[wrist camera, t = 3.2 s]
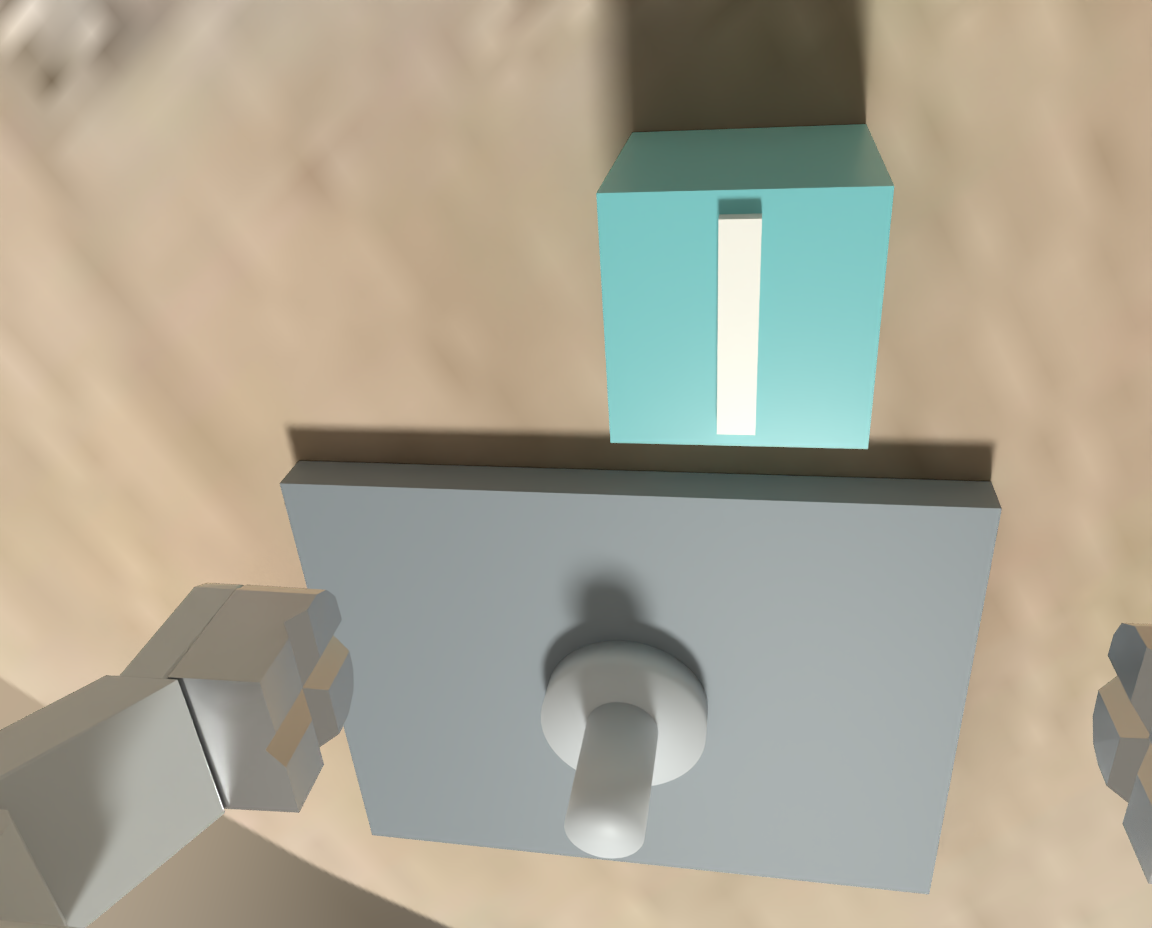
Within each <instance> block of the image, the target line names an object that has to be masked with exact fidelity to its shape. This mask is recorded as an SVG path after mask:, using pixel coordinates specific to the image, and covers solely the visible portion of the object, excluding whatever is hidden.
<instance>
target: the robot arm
mask: <svg viewBox="0 0 1152 928" xmlns="http://www.w3.org/2000/svg"><path fill="white" fill-rule="evenodd" d="M341 621H342V618H341V614H340V611H339V607H338V604H337V600H336V597H335V595H333V594H332V593H330V592H329V591H327V590H322V589H307V588H291V587H276V586H260V585H245V586H244V585H238V584H219V583H205V584H202V585H199V586H196V587H194V588H193V589H192V590H191V592H190V593H189V594H188V595H187V596H186V598H185V599H184V600H183V601H182V602H181V603H180V605H179V606H178V607H177V608H176V609H175V611H174V612H173V613H172V614H171V615H170V616H169V618H168V619H167V620H166V621H165V622H164V624H163V625H162V626H161V627H160V628H159V630H158V631H157V632H156V633H155V634H154V635H153V637H152V638H151V639H150V640H149V641H148V643H147V644H146V645H145V646H144V647H143V648H142V650H141V651H140V652H139V653H138V654H137V656H136V657H135V658H134V659H133V660H132V661H131V663H130V664H129V665H128V666H127V667H126V669H125V670H124V671H123V672H122V673H121V674H120V676H109V675H106V676H104V677H102V678H100V679H98V680H96V681H94V682H92V683H90V684H89V685H87V686H85V687H83V688H81V689H79V690H77V691H75V692H73V693H71V694H69V695H67V696H65V697H63V698H61V699H59V700H57V701H56V702H54V703H52V704H50V705H48V706H46V707H44V708H42V709H40V710H38V711H36V712H34V713H32V714H30V715H28V716H26V717H25V718H23V719H21V720H19V721H17V722H15V723H13V724H11V725H9V726H7V727H5V728H3V729H1V730H0V928H86V927H87V926H88V925H90V924H91V923H92V922H93V921H94V920H96V919H97V918H98V917H99V916H100V915H102V914H103V913H104V912H105V911H107V910H108V909H109V908H110V907H111V906H113V905H114V904H115V903H116V902H117V901H118V900H120V899H121V898H122V897H123V896H125V895H126V894H127V893H128V892H129V891H131V890H132V889H133V888H134V887H135V886H137V885H138V884H139V883H140V882H142V881H143V880H144V879H145V878H146V877H148V876H149V875H150V874H151V873H152V872H154V871H155V870H156V869H157V868H158V867H160V866H161V865H162V864H163V863H165V862H166V861H167V860H168V859H170V858H171V857H172V856H173V855H174V854H175V853H177V852H178V851H179V850H180V849H182V848H183V847H184V846H185V845H186V844H187V843H189V842H190V841H191V840H192V839H194V838H195V837H196V836H197V835H198V834H200V833H201V832H202V831H203V830H205V829H206V828H207V827H208V826H209V825H211V824H212V823H213V822H214V821H215V820H217V819H218V818H219V817H220V816H222V815H223V814H224V813H225V811H224V809H242V810H261V811H280V812H298V813H299V812H300V810H301V808H302V806H303V804H304V802H305V800H306V798H307V796H308V794H309V792H310V791H311V789H312V787H313V785H314V783H315V781H316V779H317V777H318V775H319V773H320V771H321V769H322V767H323V765H324V763H323V760H322V756H321V752H320V748H319V747H321V746H322V745H324V744H325V743H326V742H328V741H329V740H331V739H332V738H334V737H335V736H337V735H338V734H339V733H340V731H341V729H342V727H343V725H344V723H345V721H346V718H347V716H348V714H349V710H350V705H351V700H352V695H353V690H354V675H353V665H352V660H351V656H350V651H349V650H348V649H347V648H346V647H345V646H344V645H343V644H342V643H341V642H340V641H339V640H338V639H337V638H336V637H335V636H334V633H335V631H336V629H337V628H338V626H339V624H340V622H341ZM1108 657H1109V659H1110V661H1111V663H1112V665H1113V667H1114V669H1115V671H1116V673H1117V676H1116V677H1115V678H1114V679H1112V680H1111V681H1110V682H1108V683H1107V684H1106V685H1105V686H1103V687H1102V688H1101V689H1099V690H1098V695H1097V699H1096V704H1095V709H1094V713H1093V744H1094V749H1095V753H1096V757H1097V762H1098V765H1099V768H1100V770H1101V773H1102V775H1103V778H1104V780H1105V783H1106V785H1107V786H1108V787H1109V788H1110V789H1111V790H1113V791H1114V792H1115V793H1117V794H1118V795H1119V796H1120V797H1122V798H1123V799H1124V800H1125V801H1127V802H1128V807H1127V810H1126V814H1125V817H1124V820H1123V826H1124V828H1125V830H1126V833H1127V835H1128V837H1129V840H1130V842H1131V844H1132V846H1133V849H1134V851H1135V853H1136V856H1137V858H1138V860H1139V863H1140V865H1141V867H1142V870H1143V872H1144V874H1145V877H1146V879H1147V881H1148V883H1149V884H1152V624H1134V623H1121V625H1120V626H1119V628H1118V629H1117V631H1116V632H1115V634H1114V635H1113V639H1112V642H1111V646H1110V649H1109V653H1108Z"/></svg>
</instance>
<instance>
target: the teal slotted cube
mask: <svg viewBox="0 0 1152 928" xmlns="http://www.w3.org/2000/svg"><path fill="white" fill-rule="evenodd" d="M893 193H894V184H893V182H892V180H891V178H890V176H889V173H888V171H887V169H886V167H885V164H884V162H883V160H882V158H881V156H880V153H879V151H878V149H877V147H876V145H875V142H874V140H873V138H872V136H871V134H870V131H869V129H868V127H867V125H866V124H853V125H825V126H797V127H769V128H742V129H714V130H686V131H658V132H632V134H631V136H630V137H629V139H628V141H627V142H626V144H625V146H624V148H623V149H622V151H621V153H620V154H619V156H618V158H617V159H616V161H615V163H614V164H613V166H612V168H611V169H610V171H609V173H608V175H607V176H606V178H605V180H604V181H603V183H602V185H601V186H600V188H599V190H598V191H597V193H596V194H597V212H598V230H599V247H600V265H601V283H602V301H603V318H604V336H605V354H606V372H607V389H608V407H609V425H610V442H611V443H643V444H683V445H724V446H764V447H805V448H846V449H868V443H869V433H870V423H871V413H872V403H873V393H874V383H875V373H876V363H877V353H878V343H879V333H880V323H881V313H882V303H883V293H884V283H885V273H886V263H887V253H888V243H889V233H890V223H891V213H892V203H893Z"/></svg>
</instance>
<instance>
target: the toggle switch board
mask: <svg viewBox="0 0 1152 928" xmlns="http://www.w3.org/2000/svg"><path fill="white" fill-rule="evenodd" d="M280 486H281V490H282V494H283V498H284V501H285V505H286V509H287V513H288V517H289V520H290V524H291V528H292V532H293V536H294V539H295V543H296V547H297V551H298V555H299V558H300V562H301V566H302V570H303V574H304V577H305V581H306V585H307V589H322V590H327V591H329V592H330V593H332V594H333V595H335V597H336V600H337V604H338V607H339V611H340V614H341V618H342V621H341V622H340V624H339V626H338V628H337V629H336V631H335V633H334V636H335V637H336V638H337V639H338V640H339V641H340V642H341V643H342V644H343V645H344V646H345V647H346V648H347V649H348V650H349V651H350V656H351V660H352V665H353V675H354V690H353V695H352V700H351V705H350V710H349V714H348V716H347V718H346V721H345V723H344V729H345V733H346V737H347V741H348V744H349V748H350V752H351V756H352V760H353V763H354V767H355V771H356V775H357V779H358V782H359V786H360V790H361V794H362V798H363V801H364V805H365V809H366V813H367V817H368V820H369V824H370V828H371V832H372V835H377V836H386V837H396V838H405V839H415V840H424V841H433V842H443V843H452V844H462V845H471V846H480V847H490V848H499V849H508V850H518V851H527V852H537V853H546V854H555V855H565V856H574V857H584V858H593V859H602V860H612V861H621V862H630V863H640V864H649V865H659V866H668V867H677V868H687V869H696V870H706V871H715V872H724V873H734V874H743V875H753V876H762V877H771V878H781V879H790V880H799V881H809V882H818V883H828V884H837V885H846V886H856V887H865V888H875V889H884V890H893V891H903V892H912V893H922V894H929V892H930V887H931V882H932V876H933V871H934V866H935V860H936V855H937V850H938V844H939V839H940V834H941V828H942V823H943V818H944V812H945V807H946V802H947V796H948V791H949V786H950V780H951V775H952V770H953V764H954V759H955V754H956V749H957V743H958V738H959V733H960V727H961V722H962V717H963V711H964V706H965V701H966V695H967V690H968V685H969V679H970V674H971V669H972V663H973V658H974V653H975V647H976V642H977V637H978V631H979V626H980V621H981V616H982V610H983V605H984V600H985V594H986V589H987V584H988V578H989V573H990V568H991V562H992V557H993V552H994V546H995V541H996V536H997V530H998V525H999V520H1000V514H1001V509H1002V508H1001V506H1000V503H999V501H998V498H997V495H996V493H995V490H994V488H993V485H992V483H991V482H988V481H955V480H921V479H888V478H855V477H822V476H788V475H755V474H722V473H688V472H655V471H622V470H588V469H555V468H522V467H489V466H455V465H422V464H389V463H355V462H322V461H298V462H297V464H296V465H295V466H294V467H293V468H292V469H291V471H290V472H289V473H288V474H287V475H286V477H285V478H284V479H283V480H282V481H281V483H280Z"/></svg>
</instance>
